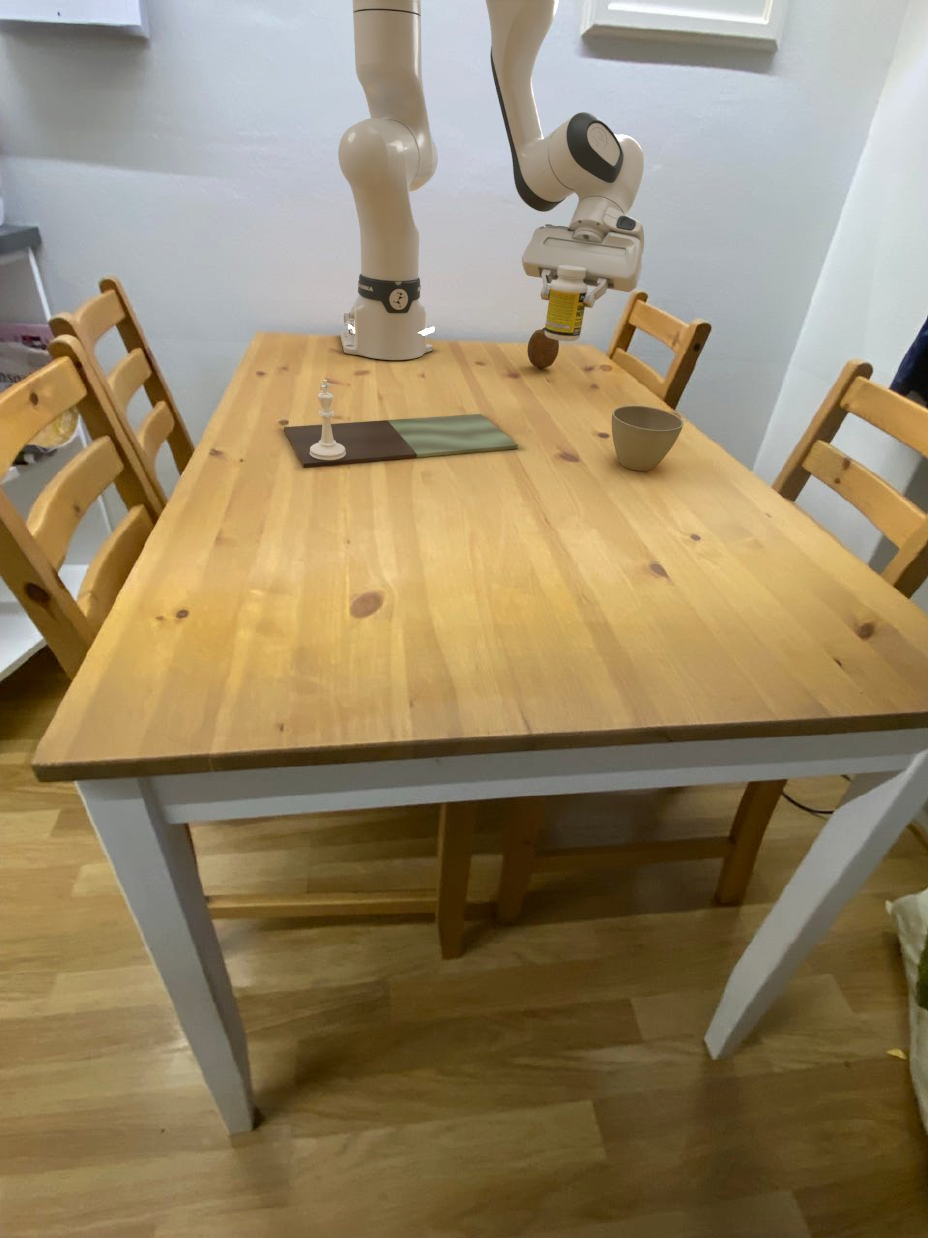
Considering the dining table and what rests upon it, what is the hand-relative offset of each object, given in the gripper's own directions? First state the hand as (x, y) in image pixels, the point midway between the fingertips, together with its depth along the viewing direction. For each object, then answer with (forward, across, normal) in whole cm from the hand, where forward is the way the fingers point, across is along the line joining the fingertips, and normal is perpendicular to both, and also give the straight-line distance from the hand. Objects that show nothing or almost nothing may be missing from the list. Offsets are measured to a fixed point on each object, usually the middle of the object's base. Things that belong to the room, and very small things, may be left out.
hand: (566, 301), depth 117 cm
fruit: (0, -8, +23) cm, 25 cm away
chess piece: (+44, -16, -22) cm, 52 cm away
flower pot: (+27, +22, -4) cm, 35 cm away
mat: (+36, -11, -13) cm, 40 cm away
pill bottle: (+4, 0, +5) cm, 6 cm away
